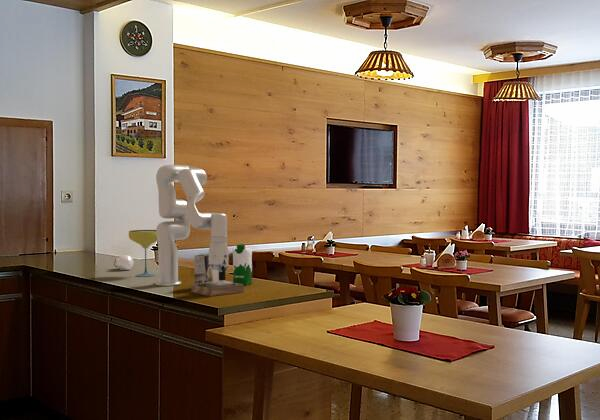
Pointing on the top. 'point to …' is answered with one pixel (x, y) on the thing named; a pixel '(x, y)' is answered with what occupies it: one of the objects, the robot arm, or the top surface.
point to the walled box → (217, 289)
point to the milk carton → (242, 265)
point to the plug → (216, 274)
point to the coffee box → (203, 269)
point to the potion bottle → (124, 262)
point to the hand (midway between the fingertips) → (219, 279)
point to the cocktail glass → (144, 243)
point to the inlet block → (218, 284)
